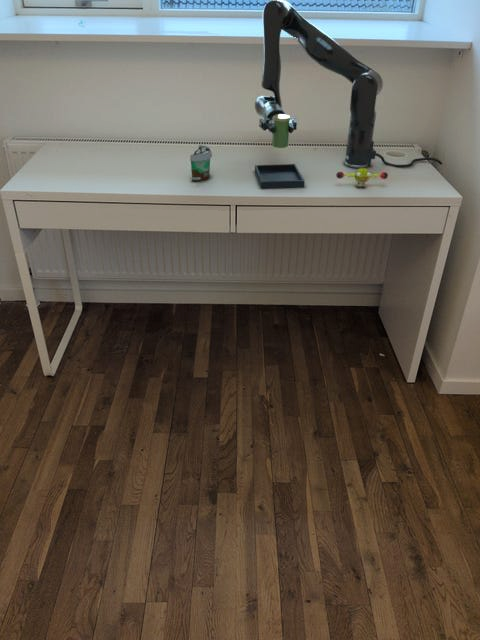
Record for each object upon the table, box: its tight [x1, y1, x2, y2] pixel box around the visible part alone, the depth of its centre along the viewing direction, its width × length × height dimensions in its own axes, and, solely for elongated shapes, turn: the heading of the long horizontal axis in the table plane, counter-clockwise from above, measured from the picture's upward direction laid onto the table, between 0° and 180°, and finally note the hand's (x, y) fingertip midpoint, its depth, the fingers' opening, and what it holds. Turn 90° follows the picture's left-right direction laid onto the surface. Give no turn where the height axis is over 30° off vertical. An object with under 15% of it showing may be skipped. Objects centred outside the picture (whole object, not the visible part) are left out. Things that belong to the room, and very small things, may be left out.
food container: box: [189, 144, 213, 183], centre depth 194 cm, size 12×6×10 cm, turn 168°
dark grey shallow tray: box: [254, 163, 305, 190], centre depth 195 cm, size 15×17×2 cm
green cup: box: [271, 113, 291, 149], centre depth 189 cm, size 6×6×10 cm
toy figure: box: [336, 167, 389, 188], centre depth 189 cm, size 18×6×7 cm, turn 90°
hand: (282, 130), depth 186 cm, fingers closed on green cup, 5 cm apart
